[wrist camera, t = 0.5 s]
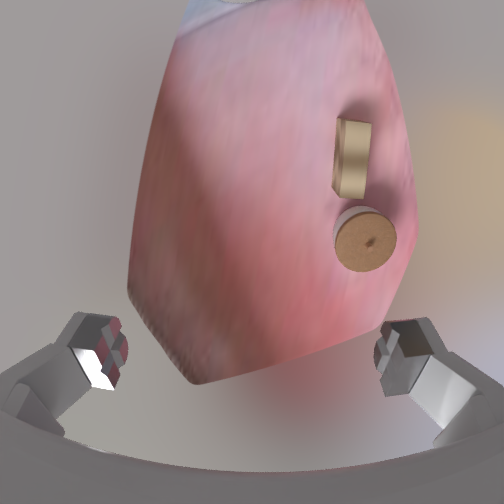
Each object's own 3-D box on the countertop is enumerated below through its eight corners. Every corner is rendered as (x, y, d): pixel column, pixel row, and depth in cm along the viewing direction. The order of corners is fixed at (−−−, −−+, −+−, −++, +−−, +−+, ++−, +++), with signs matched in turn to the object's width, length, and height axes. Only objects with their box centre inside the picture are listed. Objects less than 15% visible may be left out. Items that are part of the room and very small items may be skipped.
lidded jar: (321, 204, 51) (333, 226, 43) (378, 191, 50) (399, 211, 41) (331, 256, 56) (342, 284, 48) (383, 243, 55) (401, 269, 46)
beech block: (336, 117, 44) (346, 120, 39) (359, 120, 44) (371, 123, 39) (331, 186, 50) (339, 197, 45) (353, 188, 50) (363, 199, 45)
